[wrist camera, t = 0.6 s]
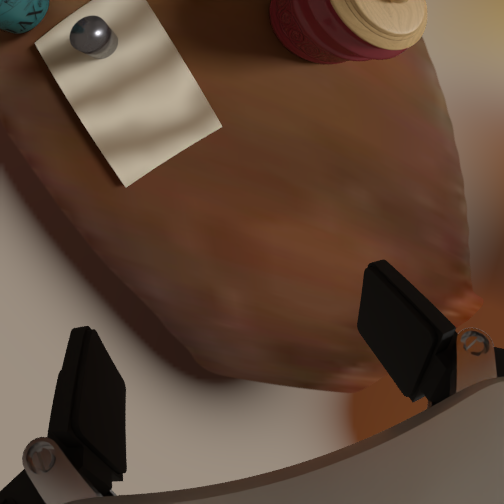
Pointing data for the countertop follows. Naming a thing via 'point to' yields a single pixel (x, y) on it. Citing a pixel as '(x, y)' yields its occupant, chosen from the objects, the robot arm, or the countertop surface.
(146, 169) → the cream rippled cloth
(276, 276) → the countertop surface
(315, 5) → the canister
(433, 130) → the countertop surface
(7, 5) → the beverage bottle
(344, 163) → the countertop surface
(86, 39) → the cylinder
